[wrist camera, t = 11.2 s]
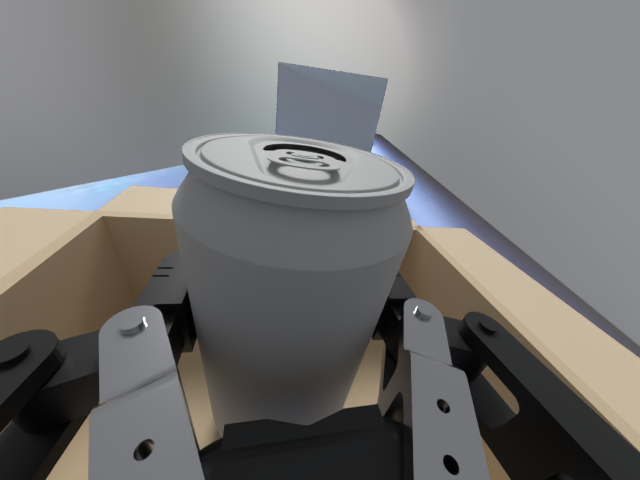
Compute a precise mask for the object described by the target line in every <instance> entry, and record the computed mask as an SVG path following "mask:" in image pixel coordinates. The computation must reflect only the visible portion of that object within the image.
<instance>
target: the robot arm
mask: <svg viewBox="0 0 640 480" xmlns="http://www.w3.org/2000/svg"><path fill="white" fill-rule="evenodd" d="M196 339H197V334H196V329H195V325H194V320H193V315H192V310H191V305H190V300H189V295H188V290H187V285H186V280H185V275H184V270H183V265H182V260H181V255H180V250H174V251H172V252H171V253H170V254H168V255H167V256H165V257H164V258H163V260H162V261H161V263H160V264H159V266H158V269H156V271H155V272H154V274H153V277H151V279H150V280H149V282H148V283H147V285H146V287H145V288H144V290H143V291H142V293H141V294H140V296H139V298H138V299H137V301H136V302H135V304H134V305H133V307H131V308H128V309H125V310H123V311H121V312H119V313H117V314H115V315H114V316H113V317H111V318H110V319H109V320H108V321H106V323H105V324H104V325H103V326H102V328H101V329H100V330H97V331H94V332H90V333H86V334H82V335H78V336H74V337H71V338H67V339H63V340H59V339H58V337H57V336H56V335H55V333H53V332H52V331H49V330H43V329H39V330H29V331H25V332H21V333H18V334H15V335H12V336H9V337H7V338H5V339H2V340H0V433H1V432H2V431H3V430H4V431H3V432H2V433H1V434H0V480H46V479H47V477H48V476H49V474H50V473H51V471H52V470H53V468H54V466H55V465H56V463H57V462H58V460H59V459H60V457H61V456H62V454H63V453H64V451H65V450H66V448H67V447H68V445H69V444H70V442H71V441H72V439H73V438H74V436H75V435H76V433H77V432H78V430H79V429H80V427H81V426H82V424H83V423H84V421H85V420H86V418H87V417H88V415H89V414H90V418H89V457H88V480H491V478H490V474H489V470H488V466H487V461H486V457H485V453H484V448H483V444H482V440H481V437H482V438H483V440H484V441H485V443H486V444H487V446H488V447H489V449H490V450H491V451H492V453H493V454H494V456H495V457H496V459H497V460H498V462H499V463H500V465H501V466H502V468H503V469H504V470H505V472H506V473H507V475H508V476H509V478H510V479H511V480H640V453H639V452H638V451H637V450H636V449H635V448H634V447H633V446H631V445H630V444H629V443H628V442H627V441H626V440H625V439H624V438H623V437H622V436H621V435H620V434H618V433H617V432H616V431H615V430H614V429H613V428H612V427H611V426H610V425H609V424H608V423H607V422H606V421H604V420H603V419H602V418H601V417H600V416H599V415H598V414H597V413H596V412H595V411H594V410H593V409H591V408H590V407H589V406H588V405H587V404H586V403H585V402H584V401H583V400H582V399H581V398H580V397H578V396H577V395H576V394H575V393H574V392H573V391H572V390H571V389H570V388H569V387H568V386H567V385H565V384H564V383H563V382H562V381H561V380H560V379H559V378H558V377H557V376H556V375H555V374H554V373H553V372H551V371H550V370H549V369H548V368H547V367H546V366H545V365H544V364H543V363H542V362H541V361H540V360H538V359H537V358H536V357H535V356H534V355H533V354H532V353H531V352H530V351H529V350H528V349H527V348H525V347H524V346H523V345H522V344H521V343H520V342H519V341H518V340H517V339H516V338H515V337H514V336H512V335H511V334H510V333H509V332H508V331H507V330H506V329H505V328H504V327H503V326H502V325H501V324H499V323H498V322H497V321H496V320H494V319H493V318H491V317H489V316H487V315H485V314H483V313H479V312H468V313H467V314H466V315H465V317H464V318H463V320H458V319H454V318H450V317H445V316H442V314H441V312H440V311H439V310H438V309H437V308H436V307H435V306H434V305H432V304H431V303H429V302H427V301H425V300H422V299H418V298H417V297H416V296H415V294H414V293H413V291H412V290H411V289H410V287H409V286H408V284H407V283H406V281H405V280H404V278H403V277H401V274H400V273H399V271H398V273H397V275H396V278H395V280H394V283H393V285H392V288H391V290H390V293H389V295H388V297H387V300H386V302H385V305H384V307H383V310H382V312H381V315H380V317H379V320H378V322H377V325H376V327H375V329H374V332H373V334H372V339H373V340H383V341H384V343H385V346H384V349H383V353H382V363H381V374H380V385H379V395H378V400H377V404H373V405H366V406H358V407H351V408H344V409H342V410H340V411H338V412H336V413H334V414H332V415H329V416H327V417H325V418H323V419H321V420H319V421H317V422H315V423H313V424H311V425H300V424H294V423H288V422H282V421H276V420H271V419H261V420H253V421H246V422H239V423H231V424H224V430H223V437H222V438H220V439H218V440H216V441H214V442H212V443H211V444H209V445H207V446H206V447H204V448H202V449H201V450H200V447H199V443H198V440H197V436H196V433H195V429H194V426H193V422H192V418H191V415H190V411H189V407H188V404H187V400H186V396H185V392H184V389H183V385H182V381H181V378H180V374H179V370H178V367H177V365H178V362H179V359H180V356H181V353H186V352H193V349H194V346H195V342H196ZM487 366H488V367H489V368H490V369H491V370H492V371H493V372H494V374H495V375H496V376H497V377H498V378H499V379H500V380H501V382H502V383H503V384H504V385H505V386H506V387H507V388H508V390H509V391H510V392H511V393H512V394H513V395H514V397H515V398H516V400H517V402H518V404H519V412H518V414H515V413H514V412H513V411H512V409H511V408H510V407H509V406H508V405H507V403H506V402H505V401H504V400H503V399H502V397H501V396H500V395H499V394H498V393H497V391H496V390H495V389H494V388H493V387H492V385H491V384H490V383H489V382H488V381H487V379H486V378H485V377H484V376H483V375H482V373H481V372H482V371H483V370H484V369H485V368H486V367H487ZM11 421H12V422H11ZM10 422H11V423H10ZM9 423H10V424H9ZM8 424H9V425H8ZM7 425H8V426H7ZM6 426H7V427H6ZM5 427H6V428H5ZM4 428H5V429H4ZM480 435H481V436H480Z"/></svg>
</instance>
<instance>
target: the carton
mask: <svg viewBox="0 0 640 480" xmlns="http://www.w3.org/2000/svg"><path fill="white" fill-rule="evenodd" d="M177 190H178V189H172V188H158V187H144V186H130V187H129V188H128V189H126V190H125V191H124V192H122V193H121V194H119V195H118V196H117V197H115V198H114V199H112V200H111V201H110V202H108V203H107V204H105V205H104V206H103V207H101V208H100V209H99V210H96V211H80V210H59V209H37V208H16V207H2V208H0V340H2V339H5V338H7V337H9V336H12V335H15V334H18V333H21V332H25V331H29V330H39V329H43V330H49V331H52V332H53V333H55V335H56V336H57V337H58V339H59V340H63V339H67V338H71V337H74V336H78V335H82V334H86V333H90V332H94V331H97V330H100V329H101V328H102V326H103V325H104V324H105V323H106V321H108V320H109V319H110V318H111V317H113V316H114V315H115V314H117V313H119V312H121V311H123V310H125V309H128V308H131V307H133V305H134V304H135V302H136V301H137V299H138V298H139V296H140V294H141V293H142V291H143V290H144V288H145V287H146V285H147V283H148V282H149V280H150V279H151V277H153V274H154V272H155V271H156V269H158V266H159V264H160V263H161V261H162V260H163V258H164V257H165V256H167V255H168V254H170V253H171V252H172V251H174V250H179V245H178V240H177V235H176V230H175V225H174V220H173V215H172V201H173V198H174V196H175V194H176V192H177ZM411 221H412V227H413V234H412V238H411V241H410V243H409V246H408V248H407V251H406V253H405V256H404V258H403V260H402V263H401V265H400V268H399V270H398V271H399V273H400V274H401V277H403V278H404V280H405V281H406V283H407V284H408V286H409V287H410V289H411V290H412V291H413V293H414V294H415V296H416V297H417V298H418V299H422V300H425V301H427V302H429V303H431V304H432V305H434V306H435V307H436V308H437V309H438V310H439V311H440V312H441V314H442V316H445V317H450V318H454V319H458V320H463V318H464V317H465V315H466V314H467V313H468V312H479V313H483V314H485V315H487V316H489V317H491V318H493V319H494V320H496V321H497V322H498V323H499V324H501V325H502V326H503V327H504V328H505V329H506V330H507V331H508V332H509V333H510V334H511V335H512V336H514V337H515V338H516V339H517V340H518V341H519V342H520V343H521V344H522V345H523V346H524V347H525V348H527V349H528V350H529V351H530V352H531V353H532V354H533V355H534V356H535V357H536V358H537V359H538V360H540V361H541V362H542V363H543V364H544V365H545V366H546V367H547V368H548V369H549V370H550V371H551V372H553V373H554V374H555V375H556V376H557V377H558V378H559V379H560V380H561V381H562V382H563V383H564V384H565V385H567V386H568V387H569V388H570V389H571V390H572V391H573V392H574V393H575V394H576V395H577V396H578V397H580V398H581V399H582V400H583V401H584V402H585V403H586V404H587V405H588V406H589V407H590V408H591V409H593V410H594V411H595V412H596V413H597V414H598V415H599V416H600V417H601V418H602V419H603V420H604V421H606V422H607V423H608V424H609V425H610V426H611V427H612V428H613V429H614V430H615V431H616V432H617V433H618V434H620V435H621V436H622V437H623V438H624V439H625V440H626V441H627V442H628V443H629V444H630V445H631V446H633V447H634V448H635V449H636V450H637V451H638V452H639V453H640V358H638V357H637V356H636V355H634V354H633V353H632V352H630V351H629V350H628V349H626V348H625V347H624V346H622V345H621V344H620V343H618V342H617V341H616V340H614V339H613V338H612V337H610V336H609V335H607V334H606V333H605V332H603V331H602V330H601V329H599V328H598V327H597V326H595V325H594V324H593V323H591V322H590V321H589V320H587V319H586V318H585V317H583V316H582V315H581V314H579V313H578V312H577V311H575V310H574V309H572V308H571V307H570V306H568V305H567V304H566V303H564V302H563V301H562V300H560V299H559V298H558V297H556V296H555V295H554V294H552V293H551V292H550V291H548V290H547V289H546V288H544V287H543V286H541V285H540V284H539V283H537V282H536V281H535V280H533V279H532V278H531V277H529V276H528V275H527V274H525V273H524V272H523V271H521V270H520V269H519V268H517V267H516V266H515V265H513V264H512V263H511V262H509V261H508V260H506V259H505V258H504V257H502V256H501V255H500V254H498V253H497V252H496V251H494V250H493V249H492V248H490V247H489V246H488V245H486V244H485V243H484V242H482V241H481V240H480V239H478V238H477V237H475V236H474V235H473V234H471V233H470V232H469V231H467V230H466V229H460V228H439V227H420V226H419V225H417V224H416V223H415V222H414V221H413V220H412V219H411ZM384 346H385V343H384V341H383V340H373V339H372V337H371V339H370V342H369V344H368V347H367V349H366V352H365V354H364V357H363V359H362V361H361V364H360V366H359V369H358V371H357V374H356V376H355V379H354V381H353V384H352V386H351V389H350V391H349V394H348V396H347V398H346V401H345V403H344V406H343V408H342V409H344V408H351V407H358V406H366V405H373V404H377V400H378V395H379V385H380V374H381V363H382V353H383V349H384ZM177 367H178V370H179V374H180V378H181V381H182V385H183V389H184V392H185V396H186V400H187V404H188V407H189V411H190V415H191V418H192V422H193V426H194V429H195V433H196V436H197V440H198V443H199V447H200V450H201V449H202V448H204V447H206V446H207V445H209V444H211V443H212V442H214V441H216V440H218V439H220V438H222V437H221V436H220V434H219V432H218V430H217V428H216V425H215V422H214V418H213V414H212V409H211V404H210V399H209V394H208V389H207V384H206V379H205V374H204V369H203V364H202V359H201V354H200V349H199V344H198V339H196V342H195V346H194V349H193V352H186V353H181V356H180V359H179V362H178V365H177ZM481 373H482V375H483V376H484V377H485V378H486V379H487V381H488V382H489V383H490V384H491V385H492V387H493V388H494V389H495V390H496V391H497V393H498V394H499V395H500V396H501V397H502V399H503V400H504V401H505V402H506V403H507V405H508V406H509V407H510V408H511V409H512V411H513V412H514V413H515V414H518V412H519V404H518V402H517V400H516V398H515V397H514V395H513V394H512V393H511V392H510V391H509V390H508V388H507V387H506V386H505V385H504V384H503V383H502V382H501V380H500V379H499V378H498V377H497V376H496V375H495V374H494V372H493V371H492V370H491V369H490V368H489V367H488V366H487V367H486V368H485V369H484V370H483V371H482V372H481ZM89 418H90V414H89V415H88V417H87V418H86V420H85V421H84V423H83V424H82V426H81V427H80V429H79V430H78V432H77V433H76V435H75V436H74V438H73V439H72V441H71V442H70V444H69V445H68V447H67V448H66V450H65V451H64V453H63V454H62V456H61V457H60V459H59V460H58V462H57V463H56V465H55V466H54V468H53V470H52V471H51V473H50V474H49V476H48V477H47V479H46V480H88V457H89ZM11 422H12V421H11ZM11 422H10V423H11ZM10 423H9V424H10ZM9 424H8V425H9ZM8 425H7V426H8ZM7 426H6V427H7ZM6 427H5V428H6ZM5 428H4V429H5ZM3 431H4V430H3ZM3 431H2V432H3ZM2 432H1V433H2ZM1 433H0V434H1ZM480 436H481V435H480ZM481 440H482V444H483V448H484V453H485V457H486V461H487V466H488V470H489V474H490V478H491V480H511V479H510V478H509V476H508V475H507V473H506V472H505V470H504V469H503V468H502V466H501V465H500V463H499V462H498V460H497V459H496V457H495V456H494V454H493V453H492V451H491V450H490V449H489V447H488V446H487V444H486V443H485V441H484V440H483V438H482V437H481Z"/></svg>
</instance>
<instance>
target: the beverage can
mask: <svg viewBox="0 0 640 480" xmlns="http://www.w3.org/2000/svg"><path fill="white" fill-rule="evenodd" d="M182 156H183V163H184V166H185V167H186V169H187V170H188V171H189V172H188V174H187V176H186V177H185V179H184V180H183V182H182V183H181V185H180V186H179V188H178V190H177V192H176V194H175V196H174V198H173V201H172V215H173V220H174V225H175V230H176V235H177V240H178V245H179V250H180V255H181V260H182V265H183V270H184V275H185V280H186V285H187V290H188V295H189V300H190V305H191V310H192V315H193V320H194V325H195V329H196V334H197V339H198V344H199V349H200V354H201V359H202V364H203V369H204V374H205V379H206V384H207V389H208V394H209V399H210V404H211V409H212V414H213V418H214V422H215V425H216V428H217V430H218V432H219V434H220V436H221V437H223V430H224V424H231V423H239V422H246V421H253V420H261V419H271V420H276V421H282V422H288V423H294V424H300V425H311V424H313V423H315V422H317V421H319V420H321V419H323V418H325V417H327V416H329V415H332V414H334V413H336V412H338V411H340V410H342V408H343V406H344V403H345V401H346V398H347V396H348V394H349V391H350V389H351V386H352V384H353V381H354V379H355V376H356V374H357V371H358V369H359V366H360V364H361V361H362V359H363V357H364V354H365V352H366V349H367V347H368V344H369V342H370V339H371V337H372V334H373V332H374V329H375V327H376V325H377V322H378V320H379V317H380V315H381V312H382V310H383V307H384V305H385V302H386V300H387V297H388V295H389V293H390V290H391V288H392V285H393V283H394V280H395V278H396V275H397V273H398V270H399V268H400V265H401V263H402V260H403V258H404V256H405V253H406V251H407V248H408V246H409V243H410V241H411V238H412V234H413V227H412V221H411V217H410V214H409V211H408V208H407V205H406V202H405V199H407V198H408V197H409V196H410V194H411V192H412V189H413V186H414V183H415V178H414V176H413V174H412V173H411V172H410V171H409V170H408V169H406V168H405V167H403V166H402V165H400V164H398V163H396V162H394V161H392V160H390V159H387V158H385V157H382V156H380V155H377V154H374V153H371V152H368V151H365V150H361V149H358V148H354V147H350V146H346V145H341V144H337V143H333V142H327V141H322V140H317V139H310V138H304V137H296V136H288V135H278V134H265V133H223V134H212V135H206V136H201V137H197V138H194V139H191V140H189V141H188V142H186V143H185V144H184V145H183V147H182Z"/></svg>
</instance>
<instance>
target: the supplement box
mask: <svg viewBox="0 0 640 480" xmlns="http://www.w3.org/2000/svg"><path fill="white" fill-rule="evenodd" d="M387 81H388V79H387V78H380V77H373V76H367V75H360V74H354V73H347V72H342V71H335V70H327V69H321V68H315V67H309V66H302V65H296V64H289V63H282V62H279V63H278V89H277V112H276V134H278V135H288V136H296V137H304V138H310V139H317V140H322V141H327V142H333V143H337V144H341V145H346V146H350V147H354V148H358V149H361V150H365V151H368V152H371V150H372V145H373V141H374V137H375V133H376V129H377V124H378V120H379V116H380V112H381V107H382V103H383V99H384V95H385V90H386V86H387Z"/></svg>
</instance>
